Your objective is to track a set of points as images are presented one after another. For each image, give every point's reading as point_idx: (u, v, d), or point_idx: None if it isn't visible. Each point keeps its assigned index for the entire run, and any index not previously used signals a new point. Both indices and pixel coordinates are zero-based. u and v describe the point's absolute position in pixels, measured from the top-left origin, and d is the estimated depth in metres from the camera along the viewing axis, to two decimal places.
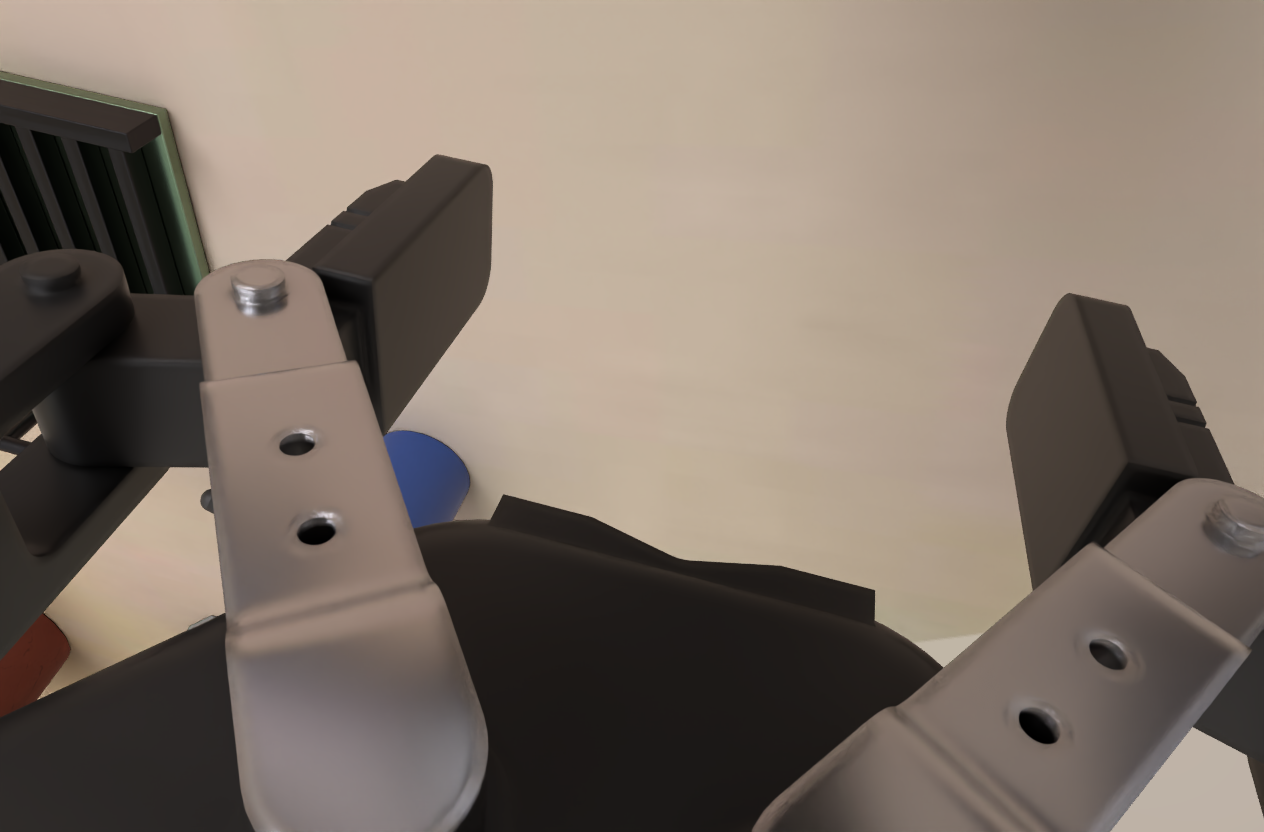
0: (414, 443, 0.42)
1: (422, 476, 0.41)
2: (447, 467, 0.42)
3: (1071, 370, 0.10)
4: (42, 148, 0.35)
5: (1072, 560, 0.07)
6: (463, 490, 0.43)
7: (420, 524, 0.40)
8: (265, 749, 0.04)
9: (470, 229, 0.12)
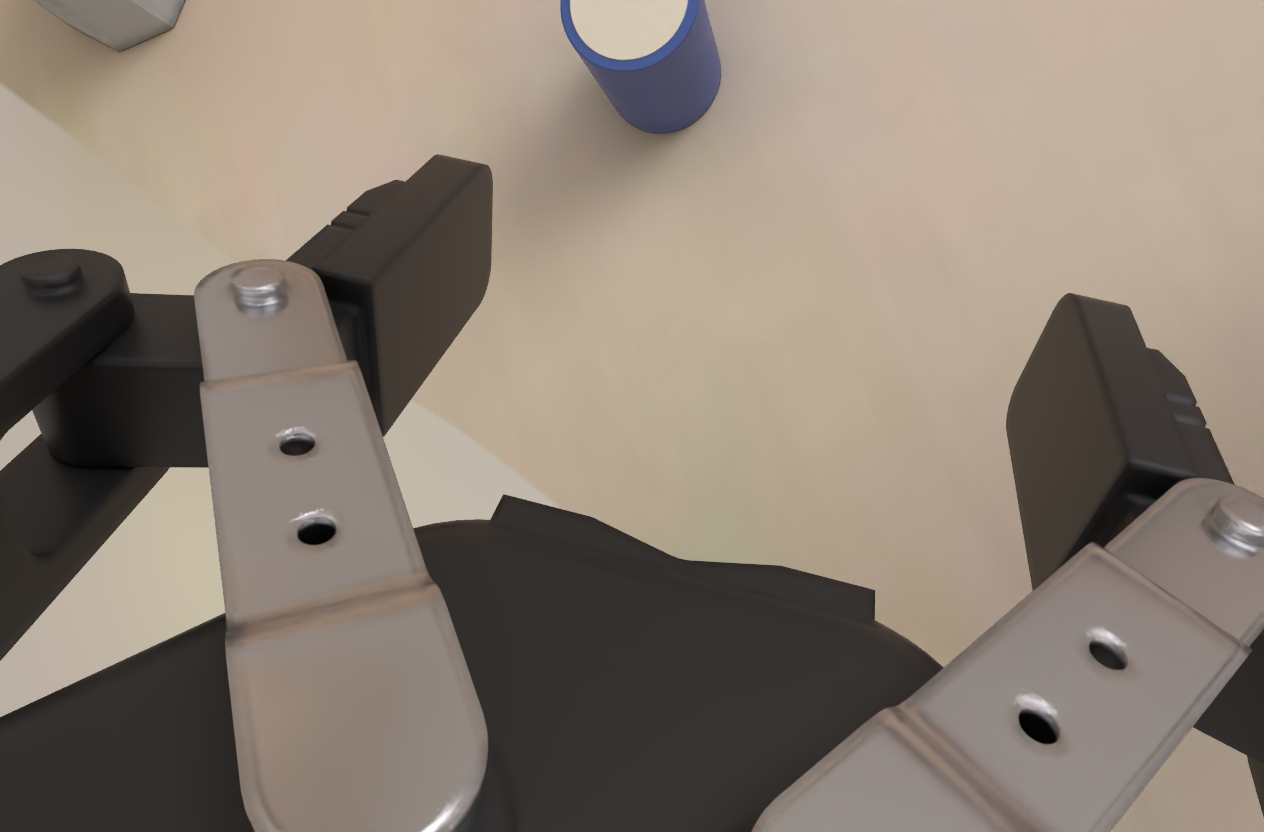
0: None
1: (714, 64, 0.37)
2: (710, 94, 0.38)
3: (1071, 370, 0.10)
4: None
5: (1071, 560, 0.07)
6: (680, 123, 0.39)
7: (697, 71, 0.35)
8: (265, 749, 0.04)
9: (470, 229, 0.12)
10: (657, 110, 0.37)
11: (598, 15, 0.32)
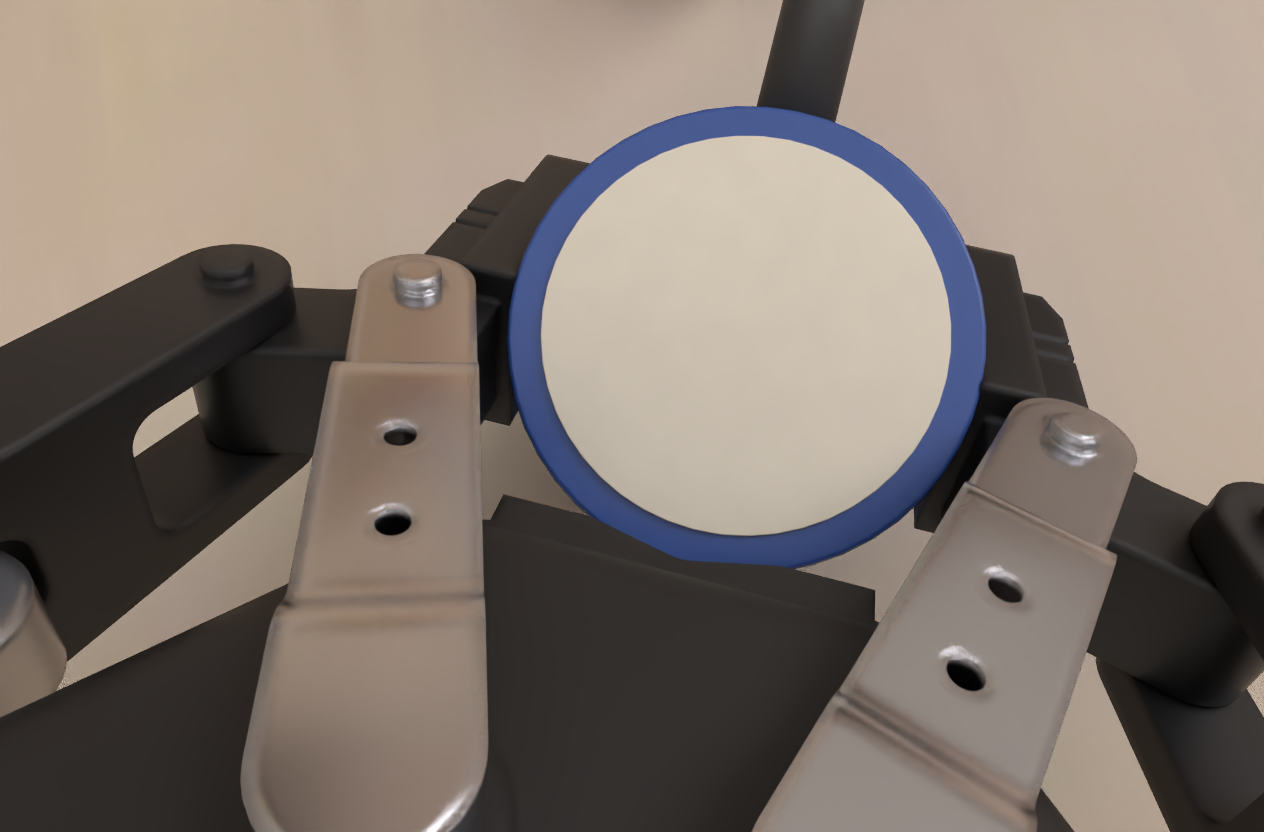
0: None
1: None
2: None
3: None
4: None
5: (953, 503, 0.07)
6: None
7: None
8: (265, 748, 0.04)
9: None
10: None
11: (630, 358, 0.10)
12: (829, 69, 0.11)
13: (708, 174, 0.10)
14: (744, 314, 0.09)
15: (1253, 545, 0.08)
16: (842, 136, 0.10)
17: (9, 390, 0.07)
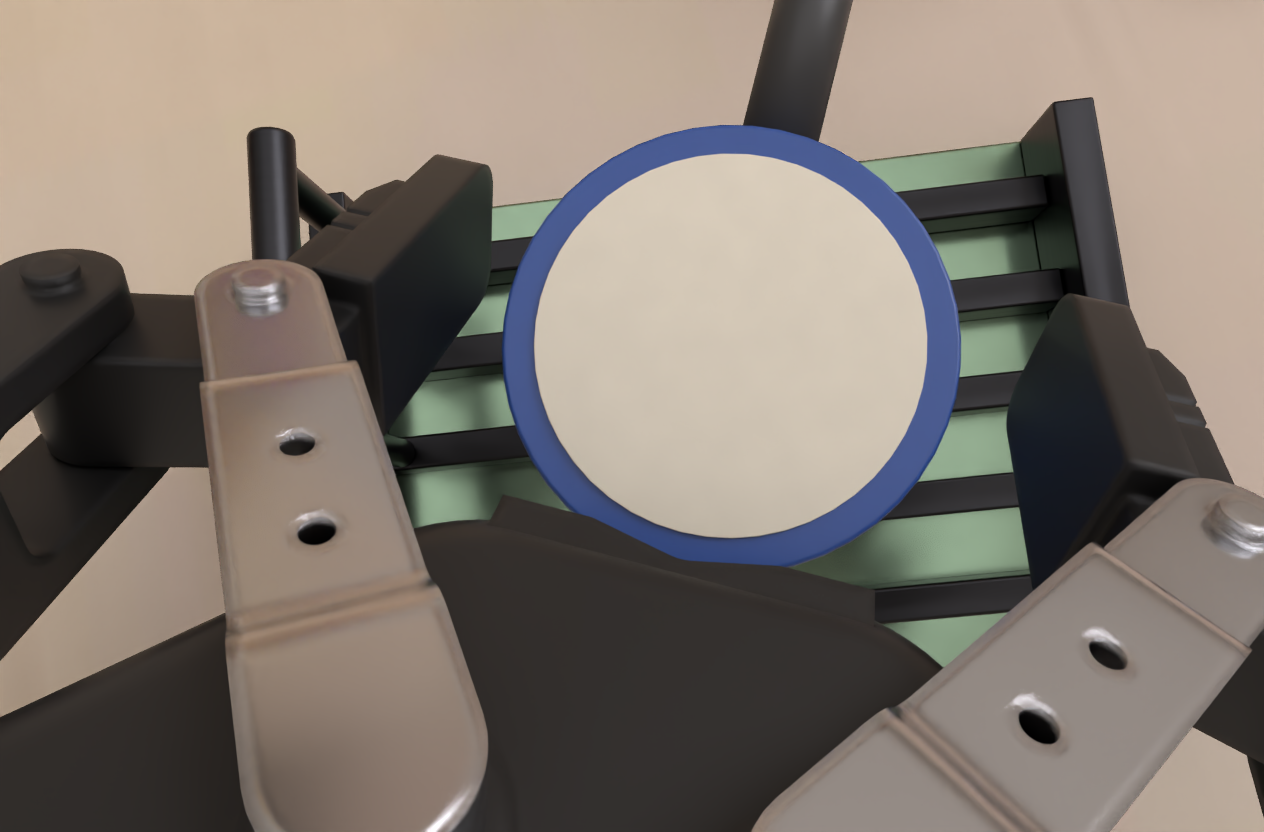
0: None
1: None
2: None
3: (1072, 370, 0.10)
4: (1005, 407, 0.18)
5: (1071, 560, 0.07)
6: None
7: None
8: (265, 749, 0.04)
9: (470, 230, 0.12)
10: None
11: (619, 367, 0.10)
12: (813, 88, 0.11)
13: (695, 190, 0.10)
14: (728, 326, 0.10)
15: None
16: (824, 154, 0.10)
17: None
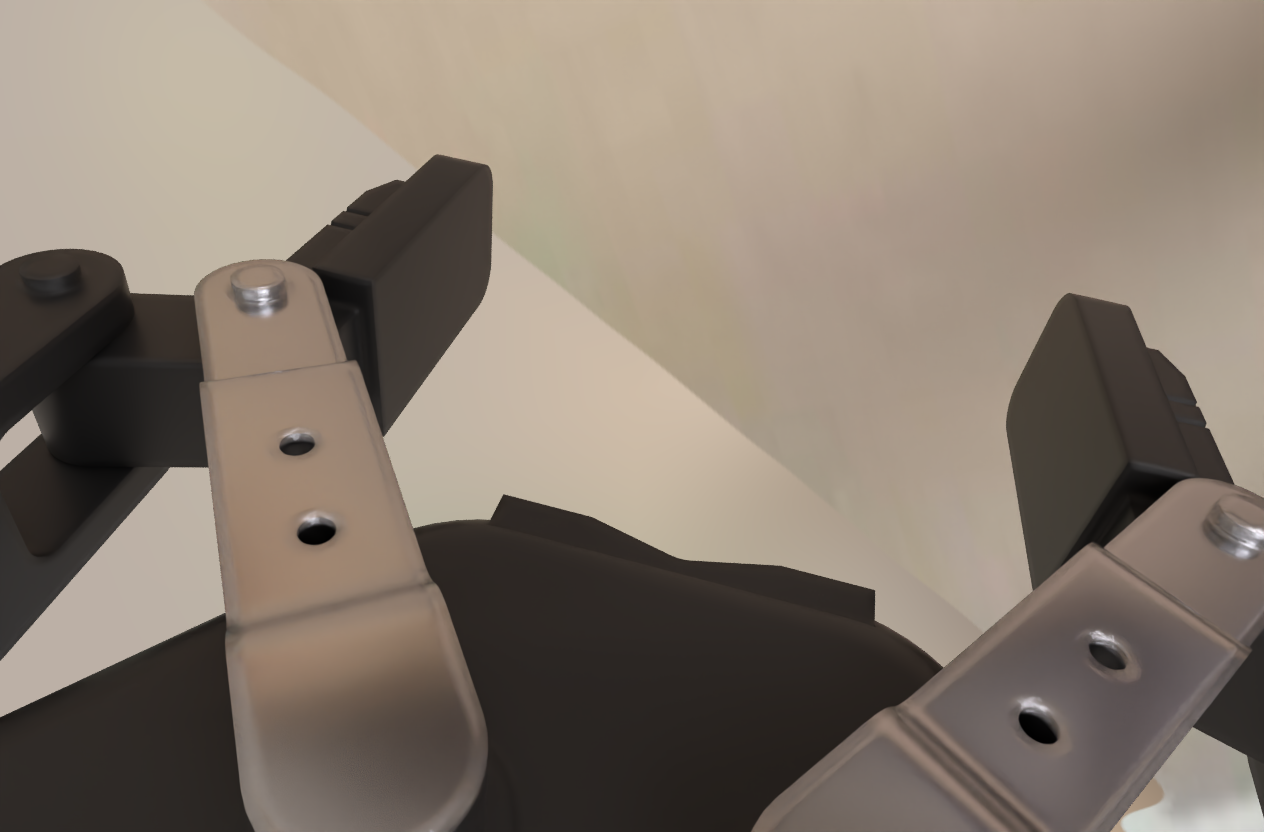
0: None
1: None
2: None
3: (1071, 370, 0.10)
4: None
5: (1072, 560, 0.07)
6: None
7: None
8: (265, 749, 0.04)
9: (469, 229, 0.12)
10: None
11: None
12: None
13: None
14: None
15: None
16: None
17: None
